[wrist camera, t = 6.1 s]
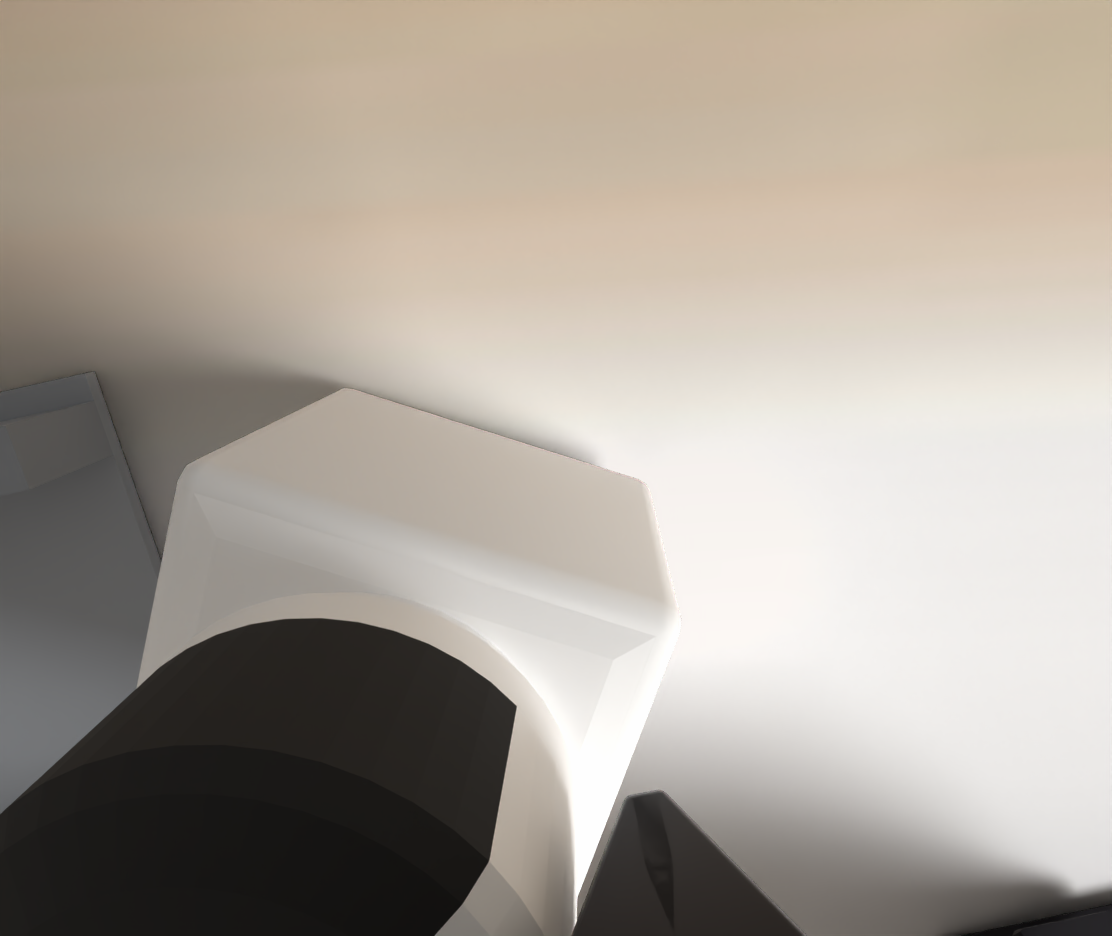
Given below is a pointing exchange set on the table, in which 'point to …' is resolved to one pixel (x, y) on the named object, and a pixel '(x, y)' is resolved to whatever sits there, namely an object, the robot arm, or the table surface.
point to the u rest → (66, 574)
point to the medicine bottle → (362, 694)
